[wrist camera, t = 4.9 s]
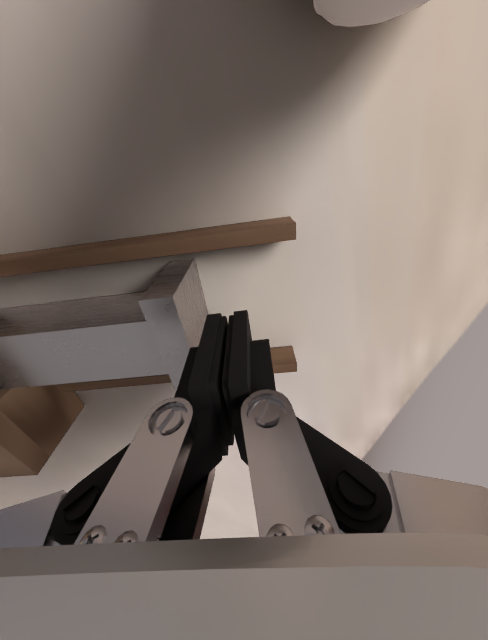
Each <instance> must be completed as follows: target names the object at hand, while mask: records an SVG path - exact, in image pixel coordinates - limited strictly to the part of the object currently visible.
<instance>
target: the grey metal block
mask: <svg viewBox="0 0 488 640" xmlns="http://www.w3.org/2000/svg"><path fill="white" fill-rule="evenodd" d="M207 315H208V311H207V307H206V303H205V299H204V295H203V291H202V287H201V283H200V279H199V275H198V271H197V267H196V263H195V259H194V258H193V259H185V260H177V261H170V262H169V263H168V264H167V266H166V267H165V268H164V269H163V271H162V272H161V273H160V274H159V275H158V277H157V278H156V279H155V280H154V282H153V283H152V284H151V285H150V287H149V288H148V289H147V290H146V291H145V292H140V293H132V294H123V295H115V296H106V297H98V298H89V299H81V300H72V301H64V302H55V303H47V304H38V305H30V306H22V307H13V308H5V309H0V390H1V389H12V388H23V387H34V386H44V385H55V384H66V383H77V382H88V381H99V380H110V379H121V378H132V377H143V376H154V375H165V374H169V376H170V379H171V381H172V384H173V386H174V388H175V391H177V387H178V384H179V381H180V378H181V375H182V372H183V368H184V365H185V362H186V359H187V356H188V353H189V350H190V348H191V347H198V346H199V343H200V339H201V335H202V331H203V328H204V324H205V320H206V317H207Z"/></svg>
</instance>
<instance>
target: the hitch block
mask: <svg viewBox="0 0 488 640" xmlns="http://www.w3.org/2000/svg"><path fill="white" fill-rule="evenodd" d="M295 239H296V223H295V222H294V221H293V220H292V219H291V217H290V216H289V217H282V218H274V219H267V220H259V221H252V222H245V223H237V224H230V225H222V226H215V227H207V228H200V229H192V230H185V231H177V232H170V233H162V234H155V235H147V236H140V237H132V238H125V239H117V240H110V241H102V242H95V243H87V244H80V245H72V246H65V247H58V248H50V249H43V250H35V251H28V252H20V253H13V254H5V255H0V277H3V276H11V275H19V274H27V273H35V272H43V271H51V270H58V269H66V268H74V267H82V266H90V265H98V264H106V263H114V262H122V261H130V260H137V259H145V258H153V257H161V256H169V255H177V254H185V253H193V252H201V251H209V250H216V249H224V248H232V247H240V246H248V245H256V244H264V243H272V242H280V241H287V240H295ZM270 352H271V359H272V366H273V373H285V372H296V371H297V362H296V359H295V355H294V351H293V347H292V346H286V347H276V348H270ZM170 382H172V381H171V379H170V376H169V374H165V375H154V376H143V377H132V378H121V379H110V380H99V381H88V382H77V383H66V384H55V385H44V386H34V387H23V388H12V389H1V390H0V477H11V476H27V475H38V473H39V472H40V470H41V469H42V467H43V466H44V464H45V463H46V462H47V460H48V459H49V457H50V456H51V454H52V453H53V451H54V450H55V448H56V447H57V445H58V444H59V442H60V441H61V439H62V438H63V436H64V435H65V433H66V432H67V431H68V429H69V428H70V426H71V425H72V423H73V422H74V420H75V419H76V417H77V416H78V414H79V413H80V411H81V410H82V408H83V407H84V404H83V403H82V401H81V400H80V399H79V397H78V396H77V395H76V393H75V392H74V391H79V390H90V389H102V388H113V387H125V386H136V385H147V384H159V383H170Z"/></svg>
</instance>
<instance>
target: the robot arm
mask: <svg viewBox="0 0 488 640" xmlns="http://www.w3.org/2000/svg"><path fill="white" fill-rule="evenodd" d="M234 435H235V438H236V442H237V445H238V449H239V453H240V456H241V459H242V460H243V461H244V462H245V463H246V464H247V465H248V466H249V472H250V478H251V485H252V491H253V498H254V504H255V511H256V517H257V524H258V530H259V537H246V538H221V539H200V536H201V531H202V527H203V523H204V519H205V514H206V510H207V506H208V501H209V497H210V493H211V489H212V484H213V480H214V476H215V466H216V465H217V464H218V463H219V462H220V461H221V460H222V456H225V455H228V445H233V443H234ZM0 640H488V488H485V487H482V486H478V485H472V484H467V483H461V482H454V481H449V480H444V479H438V478H432V477H426V476H420V475H415V474H408V473H403V472H398V471H392V470H391V471H390V473H389V474H388V473H383V472H377V471H375V470H374V469H372V468H371V467H370V466H369V465H368V464H366V463H365V462H363V461H362V460H360V459H359V458H357V457H356V456H354V455H353V454H351V453H350V452H348V451H347V450H345V449H344V448H342V447H341V446H339V445H338V444H336V443H335V442H333V441H332V440H330V439H329V438H327V437H326V436H324V435H323V434H321V433H320V432H318V431H317V430H315V429H314V428H312V427H311V426H310V425H308V424H307V423H305V422H304V421H302V420H301V419H299V418H298V417H296V416H295V413H294V410H293V408H292V405H291V403H290V401H289V400H288V398H287V397H286V396H284V395H283V394H282V393H280V392H278V391H276V388H275V381H274V373H273V366H272V359H271V352H270V345H269V339H264V340H255V341H252V338H251V331H250V324H249V318H248V312H247V310H244V311H236V312H234V315H231V316H229V323H228V322H227V318H226V316H222V315H221V314H220V313H219V314H210V315H207V317H206V320H205V324H204V328H203V331H202V335H201V339H200V343H199V346H198V347H191V348H190V350H189V353H188V356H187V359H186V362H185V365H184V368H183V372H182V375H181V378H180V381H179V384H178V387H177V391H176V394H175V397H174V398H170V399H167V400H164V401H162V402H160V403H159V404H157V405H156V406H155V407H153V408H152V409H151V410H150V411H149V413H148V414H147V416H146V417H145V419H144V421H143V422H142V424H141V426H140V428H139V430H138V431H137V433H136V435H135V437H134V438H133V440H132V442H131V443H130V444H129V445H127V446H126V447H125V448H123V449H122V450H121V451H120V452H118V453H117V454H116V455H114V456H113V457H112V458H110V459H109V460H108V461H107V462H105V463H104V464H103V465H101V466H100V467H99V468H97V469H96V470H95V471H94V472H92V473H91V474H90V475H88V476H87V477H86V478H84V479H83V480H82V481H80V482H79V483H78V484H77V485H76V486H75V487H73V488H72V489H71V490H70V491H69V492H68V493H66V492H65V491H64V490H62V491H59V492H56V493H53V494H49V495H46V496H43V497H40V498H37V499H33V500H30V501H27V502H24V503H20V504H17V505H14V506H11V507H8V508H4V509H1V510H0Z"/></svg>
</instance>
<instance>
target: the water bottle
mask: <svg viewBox="0 0 488 640" xmlns="http://www.w3.org/2000/svg"><path fill="white" fill-rule="evenodd" d="M428 1H430V0H313V3H314V9H315V11H316V13H317V14H319V15H321V16H322V17H323V18H324V19H326V20H327V21H328V22H330V23H331V24H332V25H334V26H346V27H357V26H364V25H371V24H379V23H382V22H385V21H387V20H390V19H392V18H395V17H397V16H400V15H403V14H405V13H407V12H409V11H411V10H413V9H415V8H417V7H420V6H421V5H423V4H425V3H426V2H428Z"/></svg>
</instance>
